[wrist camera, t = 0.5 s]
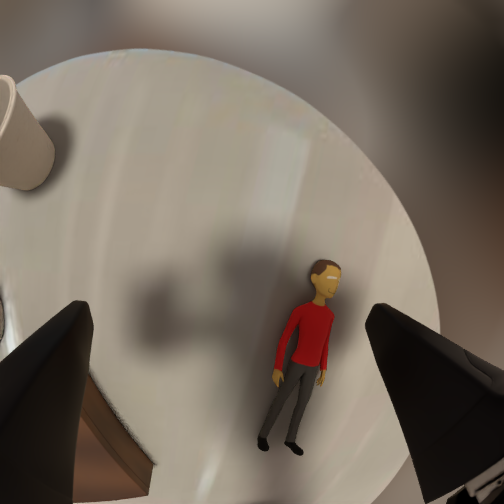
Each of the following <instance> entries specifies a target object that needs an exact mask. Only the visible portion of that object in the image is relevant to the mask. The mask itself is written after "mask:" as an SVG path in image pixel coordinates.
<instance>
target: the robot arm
mask: <svg viewBox="0 0 504 504" xmlns="http://www.w3.org/2000/svg"><path fill="white" fill-rule="evenodd" d="M365 329H366V332H367V335H368V338H369V341H370V344H371V347H372V351H373V354H374V357H375V360H376V363H377V366H378V369H379V371H380V373H381V376H382V378H383V381H384V383H385V386H386V388H387V391H388V393H389V396H390V399H391V401H392V404H393V407H394V409H395V412H396V415H397V417H398V420H399V423H400V426H401V428H402V431H403V434H404V437H405V440H406V443H407V446H408V449H409V452H410V455H411V458H412V461H413V465H414V468H415V471H416V474H417V477H418V481H419V484H420V488H421V491H422V495H423V499H424V502H425V504H427V503H429V502H431V501H434V500H436V499H437V498H440V497H442V496H444V495H445V494H447V493H449V492H451V491H453V490H455V489H456V488H458V487H460V486H462V485H464V487H462V488H461V489H460V490H459V491H457V492H456V493H455V494H453V496H451V497H450V498H448V499H447V503H446V504H504V371H503V370H501V369H500V368H498V367H496V366H494V365H492V364H490V363H488V362H486V361H484V360H483V359H481V358H479V357H477V356H475V355H474V354H472V353H470V352H469V351H467V350H465V349H463V348H462V347H460V346H459V345H457V344H455V343H453V342H452V341H450V340H448V339H447V338H445V337H443V336H442V335H440V334H438V333H436V332H435V331H433V330H431V329H430V328H428V327H426V326H424V325H423V324H421V323H419V322H417V321H416V320H414V319H412V318H411V317H409V316H407V315H405V314H404V313H402V312H400V311H398V310H397V309H395V308H393V307H391V306H390V305H388V304H386V303H377V304H375V305H374V306H373V307H372V309H371V311H370V313H369V316H368V318H367V320H366V322H365ZM93 330H94V325H93V320H92V316H91V312H90V308H89V305H88V303H87V302H86V301H78V300H75V301H73V302H71V303H70V304H69V305H68V306H66V307H65V308H64V309H62V310H61V311H60V312H59V313H57V314H56V315H55V316H54V317H52V318H51V319H50V320H49V321H48V322H46V323H45V324H44V325H43V326H41V327H40V328H39V329H38V330H37V331H35V332H34V333H33V334H32V335H31V336H30V337H28V338H27V339H26V340H25V341H24V342H23V343H21V344H20V345H19V346H18V347H17V348H16V349H15V350H13V351H12V352H11V353H10V354H9V355H8V356H7V357H6V358H4V359H3V360H2V361H1V362H0V504H73V482H74V466H75V455H76V445H77V437H78V429H79V422H80V415H81V409H82V403H83V398H84V393H85V388H86V383H87V377H88V370H89V361H90V352H91V344H92V337H93Z"/></svg>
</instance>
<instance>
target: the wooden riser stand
mask: <svg viewBox="0 0 504 504" xmlns="http://www.w3.org/2000/svg"><path fill="white" fill-rule="evenodd" d="M152 469H153V463H152V462H151V461H150V460H149V459H148V458H147V456H146V455H145V454H144V453H143V452H142V450H141V449H140V448H139V447H138V446H137V444H136V443H135V442H134V440H133V439H132V438H131V437H130V435H129V434H128V433H127V431H126V430H125V429H124V427H123V426H122V425H121V423H120V422H119V420H118V419H117V418H116V416H115V415H114V413H113V412H112V410H111V409H110V407H109V406H108V404H107V403H106V401H105V400H104V398H103V397H102V395H101V394H100V392H99V390H98V389H97V387H96V386H95V384H94V382H93V381H92V379H91V377H90V375H89V374H88V377H87V383H86V388H85V393H84V398H83V403H82V409H81V415H80V422H79V429H78V437H77V445H76V455H75V466H74V482H73V503H84V502H101V501H112V500H121V499H129V498H136V497H142V496H148V494H149V488H150V481H151V475H152Z"/></svg>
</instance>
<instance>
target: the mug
mask: <svg viewBox="0 0 504 504" xmlns="http://www.w3.org/2000/svg"><path fill="white" fill-rule="evenodd" d="M3 327H4V315H3V308H2V303H1V299H0V340H1V337H2V333H3Z"/></svg>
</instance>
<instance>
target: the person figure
mask: <svg viewBox="0 0 504 504" xmlns="http://www.w3.org/2000/svg"><path fill="white" fill-rule="evenodd" d="M340 277H341V268H340V267H339V265H337V264H336V263H335V262H333V261H331V260H320V261H319V262H317V263H316V264H315V266H314V267H313V269H312V272H311V281H312V283H313V285H314V287H315V289H316V297H315V299H314V300H313V301H310V302H309V303H307V304H304V305H301V306H298V307H296V308H295V309H294V310H293V312H292V314H291V316H290V318H289V320H288V323H287V325H286V328H285V330H284V332H283V334H282V336H281V338H280V341H279V344H278V348H277V353H276V359H275V365H274V372H273V375H272V379H273V381H274V382H275V384H276V386H278V388H279V379H280V377H281V378H282V384H281V386H280V389H279V391H278V394H277V396H276V398H275V400H274V401H273V403H272V406H271V408H270V410H269V413H268V416H267V418H266V420H265V423H264V425H263V427H262V430H261V432H260V434H259V436H258V448H259V449H260V450H262V451H268V450H269V445H268V443H267V436H268V434H269V432H270V430H271V428H272V426H273V424H274V422H275V420H276V418H277V417H278V415H279V413H280V411H281V409H282V407H283V405H284V403H285V401H286V400H287V398H288V396H289V395H290V393H291V392H292V390H293V389H294V387H295V386H296V384H297V382H298V380H299V379H300V389H299V395H298V400H297V404H296V406H295V408H294V411H293V414H292V418H291V421H290V425H289V430H288V434H287V436H286V439H285V442H284V444H285V445H286V446H288V447H289V448H290V449H291V450H292V451H293V453H295V454H296V455H299V456H301V455H303V453H304V452H303V450H302V449H301V448H300V447H299V446H298V445H297V444H296V443H295V439H296V434H297V431H298V427H299V424H300V422H301V419H302V416H303V413H304V410H305V407H306V405H307V403H308V401H309V398H310V396H311V393H312V389H313V386H314V381H315V377H316V374H317V370H318V366H319V363H320V371H321V375H320V378H319V379H320V380H319V379H317V382H316V383H318V382H319V383H318V384H317V385H319V384H321V385H320V387H321V386H322V384H323V382H324V379H325V371H326V370H327V357H328V342H329V336H330V331H331V326H332V323H333V320H334V317H335V316H334V314H333V313H332V311H331V310H330V309H329V308H328V307H327V306H326V304H325V299H326V298H332V297H333V296H334V294H335V292H336V290H337V287H338V283H339V280H340ZM297 325H299V341H298V346H297V349H296V350H295V352H294V353H293V355H292V356H291V360H290V362H289V365H288V367H287V370H286V373H285V376H284V378H283V372H282V367H283V360H284V355H285V350H286V346H287V343H288V341H289V339H290V337H291V335H292V333H293V331H294V329H295V328H296V326H297ZM318 380H319V381H318Z"/></svg>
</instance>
